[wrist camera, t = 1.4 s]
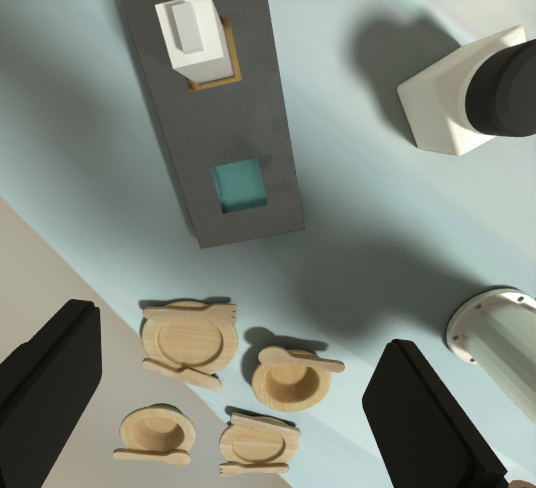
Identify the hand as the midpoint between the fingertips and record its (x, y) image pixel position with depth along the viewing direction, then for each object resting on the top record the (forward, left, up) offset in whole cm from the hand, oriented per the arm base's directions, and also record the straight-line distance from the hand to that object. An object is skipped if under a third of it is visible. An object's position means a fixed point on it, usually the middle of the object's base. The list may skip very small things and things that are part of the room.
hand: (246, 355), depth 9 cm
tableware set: (+11, +31, -26) cm, 42 cm away
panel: (+1, -7, -26) cm, 27 cm away
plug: (+1, -13, -25) cm, 28 cm away
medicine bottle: (-21, -5, -26) cm, 33 cm away
